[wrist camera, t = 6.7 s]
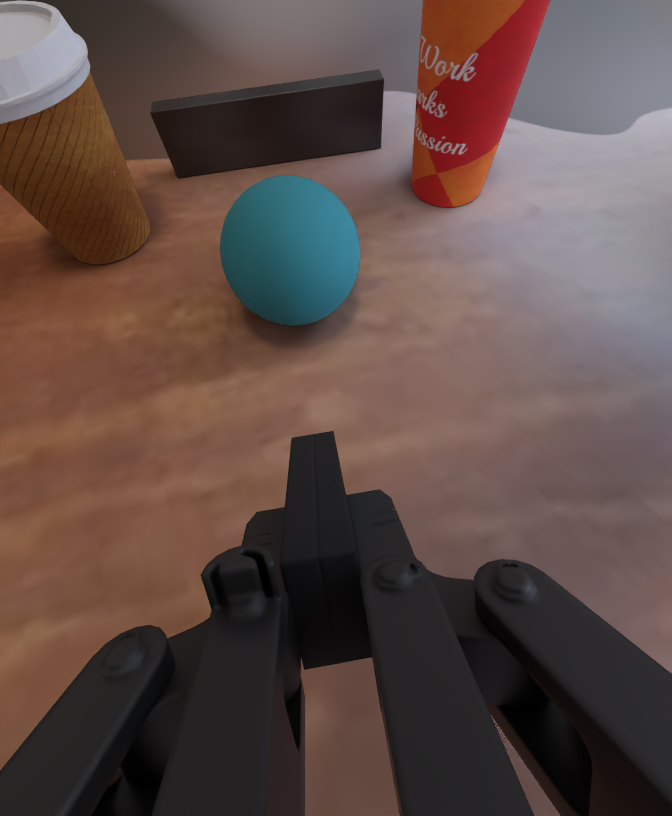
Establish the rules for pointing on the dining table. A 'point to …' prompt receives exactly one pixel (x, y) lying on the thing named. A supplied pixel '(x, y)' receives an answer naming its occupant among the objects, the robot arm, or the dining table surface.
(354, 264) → the ball
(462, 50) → the paper cup
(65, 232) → the disposable coffee cup
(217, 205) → the dining table surface
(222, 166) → the block
